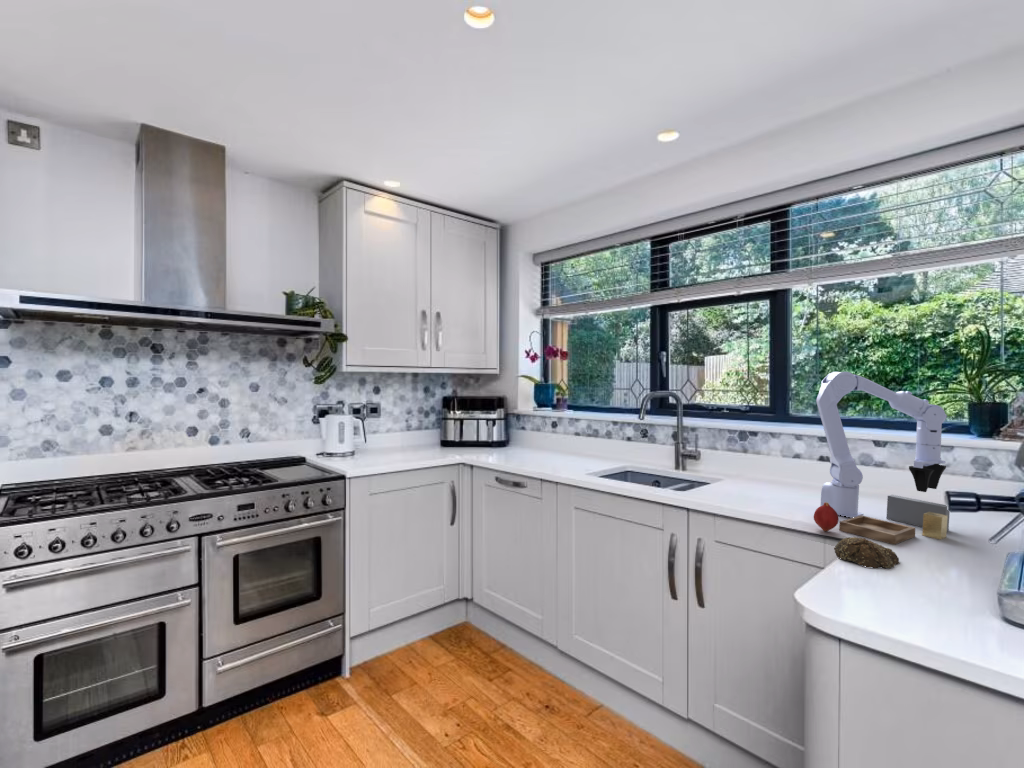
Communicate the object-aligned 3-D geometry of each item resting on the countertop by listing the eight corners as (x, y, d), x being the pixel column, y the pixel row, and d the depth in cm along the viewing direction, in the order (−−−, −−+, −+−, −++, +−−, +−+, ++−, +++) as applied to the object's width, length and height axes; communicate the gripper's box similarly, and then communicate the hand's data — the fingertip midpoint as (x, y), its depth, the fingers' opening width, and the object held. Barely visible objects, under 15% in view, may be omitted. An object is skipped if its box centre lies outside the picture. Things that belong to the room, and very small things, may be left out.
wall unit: (886, 518, 154) (887, 495, 154) (891, 517, 156) (892, 494, 156) (944, 532, 142) (946, 507, 142) (948, 530, 144) (950, 505, 144)
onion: (815, 526, 144) (816, 498, 144) (839, 531, 140) (840, 502, 140) (811, 531, 139) (812, 502, 139) (836, 536, 136) (837, 506, 135)
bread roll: (841, 546, 128) (842, 527, 128) (902, 561, 119) (903, 540, 119) (825, 558, 120) (826, 537, 120) (890, 575, 111) (891, 552, 111)
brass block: (922, 535, 139) (923, 513, 139) (928, 533, 141) (929, 511, 141) (940, 539, 135) (942, 517, 135) (946, 537, 138) (947, 515, 137)
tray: (839, 530, 141) (839, 521, 141) (860, 523, 148) (861, 515, 148) (894, 544, 130) (894, 535, 130) (914, 536, 137) (915, 527, 137)
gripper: (935, 448, 144) (933, 495, 144) (954, 444, 152) (952, 489, 152) (905, 444, 150) (904, 490, 150) (925, 441, 158) (923, 485, 158)
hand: (926, 489), depth 152 cm, fingers open, 7 cm apart
